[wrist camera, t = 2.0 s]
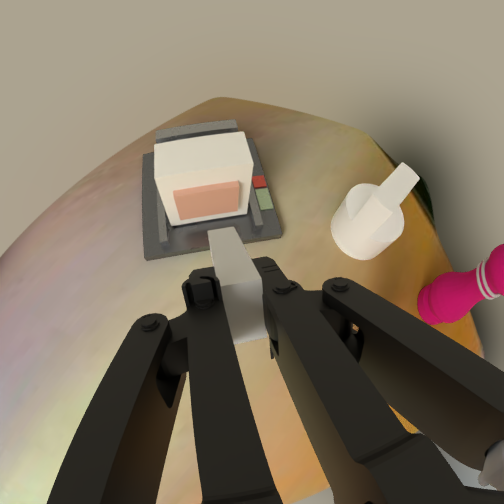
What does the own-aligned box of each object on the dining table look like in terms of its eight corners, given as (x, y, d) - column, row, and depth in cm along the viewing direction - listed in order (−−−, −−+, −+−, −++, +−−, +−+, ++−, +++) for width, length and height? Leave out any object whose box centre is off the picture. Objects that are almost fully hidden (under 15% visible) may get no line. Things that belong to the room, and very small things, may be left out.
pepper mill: (419, 275, 36) (512, 212, 18) (448, 293, 35) (540, 244, 17) (409, 318, 33) (519, 270, 15) (441, 334, 33) (544, 298, 14)
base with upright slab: (352, 196, 40) (385, 145, 29) (392, 235, 38) (436, 194, 27) (318, 227, 38) (350, 175, 27) (363, 272, 35) (411, 234, 24)
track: (146, 260, 34) (133, 242, 28) (144, 159, 40) (136, 134, 35) (280, 237, 36) (289, 216, 31) (251, 143, 43) (254, 117, 38)
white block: (171, 231, 34) (154, 184, 25) (168, 195, 36) (154, 144, 27) (248, 219, 35) (255, 169, 26) (239, 183, 37) (243, 131, 28)
